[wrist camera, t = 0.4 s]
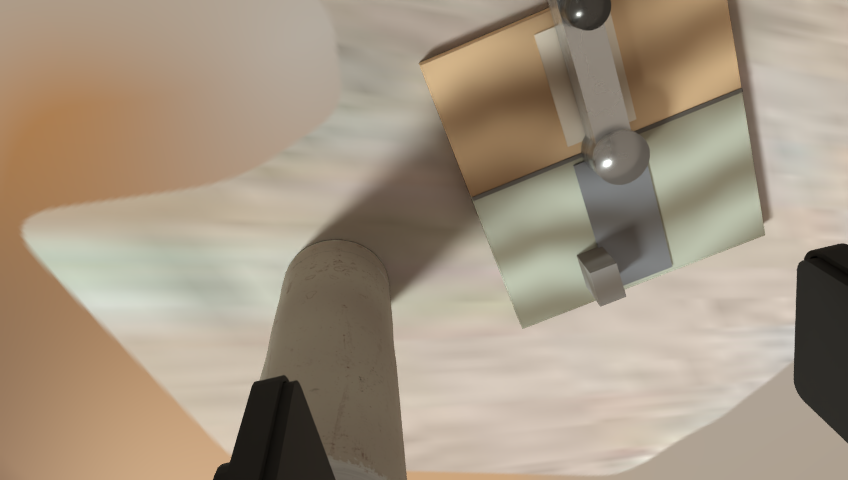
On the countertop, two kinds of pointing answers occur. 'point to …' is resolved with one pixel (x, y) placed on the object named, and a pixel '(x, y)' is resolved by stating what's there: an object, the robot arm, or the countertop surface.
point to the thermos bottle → (342, 356)
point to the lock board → (574, 180)
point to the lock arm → (598, 91)
